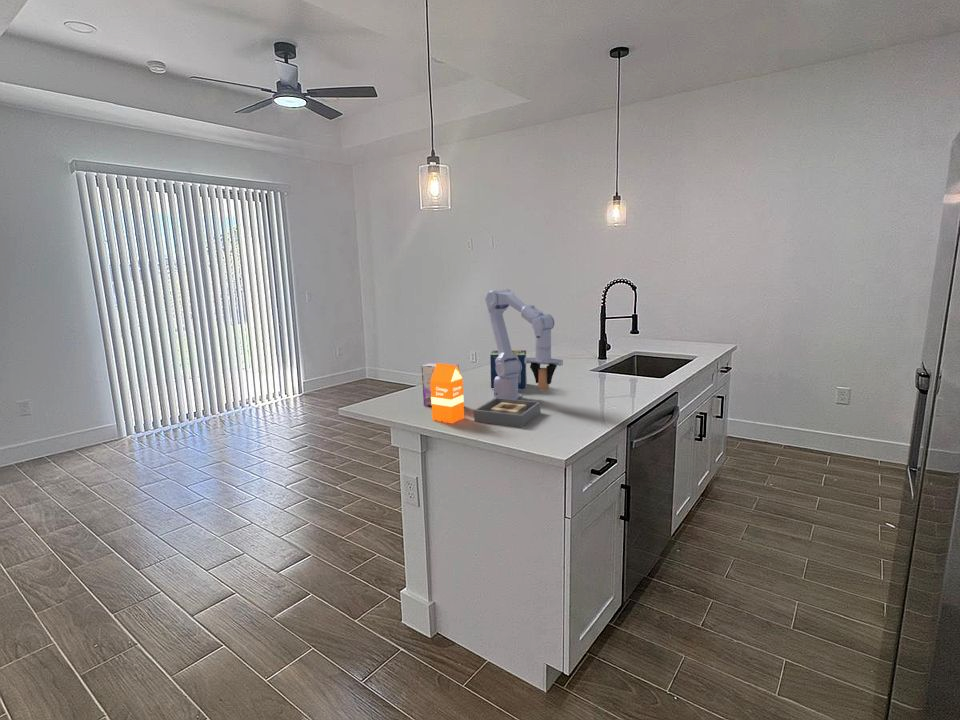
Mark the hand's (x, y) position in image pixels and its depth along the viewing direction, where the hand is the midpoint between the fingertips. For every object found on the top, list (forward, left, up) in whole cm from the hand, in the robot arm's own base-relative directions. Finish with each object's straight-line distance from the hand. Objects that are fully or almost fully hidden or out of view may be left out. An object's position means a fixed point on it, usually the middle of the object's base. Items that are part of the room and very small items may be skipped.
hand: (543, 383), depth 193 cm
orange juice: (-27, -26, -10) cm, 39 cm away
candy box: (-38, -12, -10) cm, 41 cm away
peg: (0, 0, -2) cm, 2 cm away
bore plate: (-9, -13, -9) cm, 18 cm away
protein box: (-26, +26, -10) cm, 37 cm away
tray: (-8, -16, -9) cm, 20 cm away
